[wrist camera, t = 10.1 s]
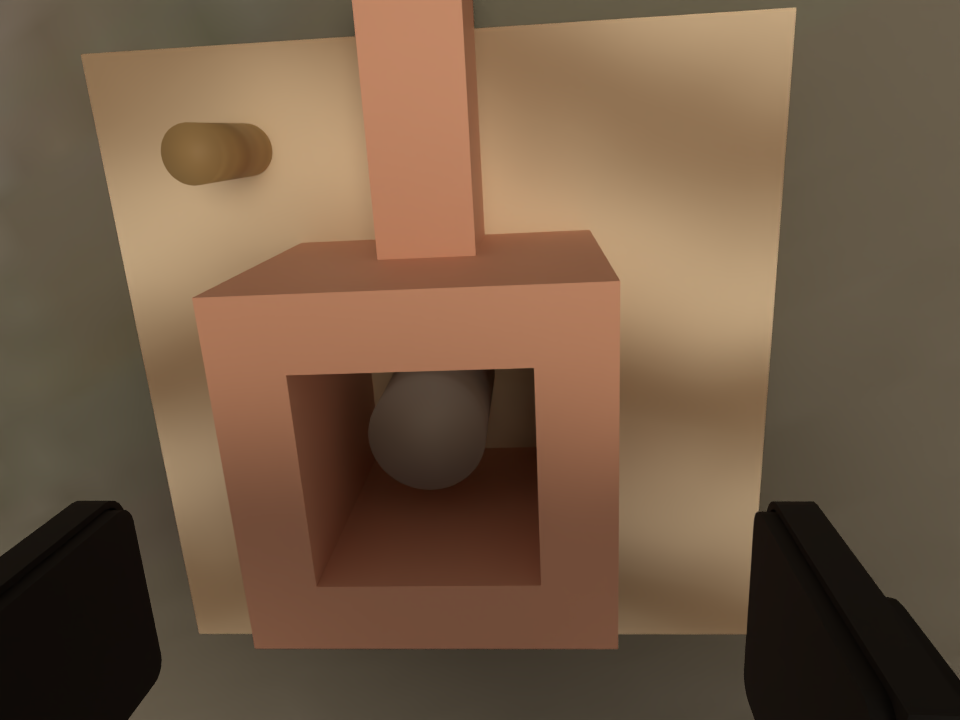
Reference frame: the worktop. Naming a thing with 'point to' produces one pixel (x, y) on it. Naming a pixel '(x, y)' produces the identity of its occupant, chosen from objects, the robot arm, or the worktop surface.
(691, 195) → the post base
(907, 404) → the worktop surface
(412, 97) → the square nut with handle
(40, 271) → the worktop surface
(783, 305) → the worktop surface
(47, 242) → the worktop surface
